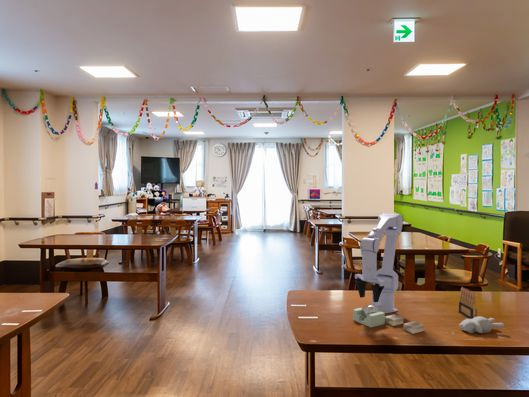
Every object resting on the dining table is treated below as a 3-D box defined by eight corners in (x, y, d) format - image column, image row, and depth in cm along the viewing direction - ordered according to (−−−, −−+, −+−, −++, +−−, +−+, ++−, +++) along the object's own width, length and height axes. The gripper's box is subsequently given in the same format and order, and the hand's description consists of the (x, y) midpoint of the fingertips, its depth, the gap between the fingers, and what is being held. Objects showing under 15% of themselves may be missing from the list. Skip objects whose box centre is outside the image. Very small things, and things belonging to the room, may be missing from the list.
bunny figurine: (454, 317, 156) (490, 312, 157) (456, 329, 156) (491, 324, 157) (469, 325, 146) (506, 320, 147) (470, 339, 146) (507, 333, 148)
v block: (352, 320, 163) (353, 309, 163) (366, 316, 167) (366, 306, 167) (370, 327, 155) (371, 316, 155) (384, 323, 159) (384, 313, 159)
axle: (361, 315, 161) (361, 305, 162) (376, 313, 166) (376, 303, 166) (368, 317, 158) (368, 307, 158) (383, 315, 163) (383, 305, 163)
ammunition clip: (476, 320, 163) (477, 292, 163) (472, 320, 163) (473, 292, 162) (462, 312, 174) (462, 285, 173) (458, 312, 174) (458, 285, 173)
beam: (384, 322, 160) (384, 316, 160) (394, 320, 163) (394, 314, 163) (413, 333, 148) (413, 327, 148) (423, 330, 151) (423, 324, 151)
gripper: (349, 264, 164) (349, 296, 165) (375, 271, 152) (375, 305, 152) (361, 263, 168) (361, 294, 169) (388, 269, 156) (387, 302, 156)
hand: (368, 299), depth 161 cm, fingers open, 7 cm apart
